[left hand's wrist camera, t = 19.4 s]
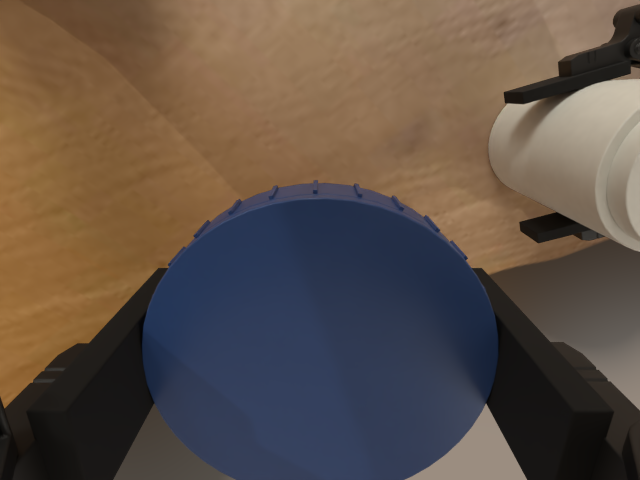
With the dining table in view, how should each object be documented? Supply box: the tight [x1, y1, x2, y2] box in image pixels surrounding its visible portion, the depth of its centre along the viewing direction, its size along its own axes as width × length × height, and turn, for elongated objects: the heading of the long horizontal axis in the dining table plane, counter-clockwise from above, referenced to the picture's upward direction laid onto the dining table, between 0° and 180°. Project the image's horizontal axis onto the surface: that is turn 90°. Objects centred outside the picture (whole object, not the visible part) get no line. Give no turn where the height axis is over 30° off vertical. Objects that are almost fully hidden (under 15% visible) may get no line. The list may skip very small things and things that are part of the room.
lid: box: [142, 180, 499, 480], centre depth 12 cm, size 10×10×2 cm
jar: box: [488, 79, 640, 252], centre depth 26 cm, size 9×9×15 cm
